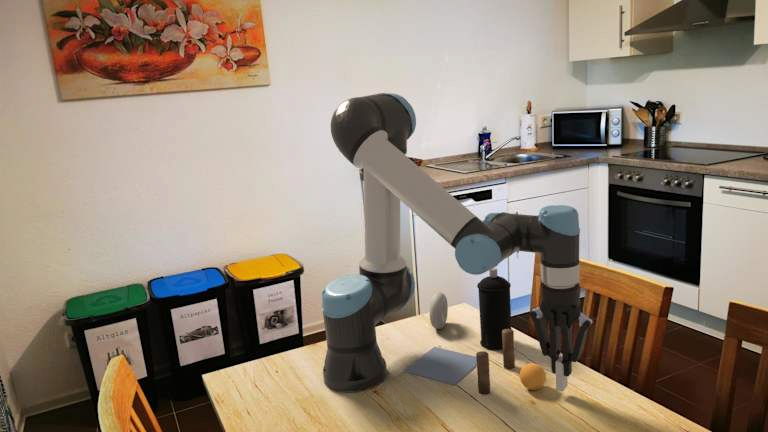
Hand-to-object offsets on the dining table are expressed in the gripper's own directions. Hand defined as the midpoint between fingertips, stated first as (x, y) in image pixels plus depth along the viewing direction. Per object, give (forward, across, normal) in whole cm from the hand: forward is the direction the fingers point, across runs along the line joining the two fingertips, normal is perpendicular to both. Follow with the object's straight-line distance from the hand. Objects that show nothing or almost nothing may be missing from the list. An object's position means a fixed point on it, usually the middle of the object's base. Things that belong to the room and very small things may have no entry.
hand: (561, 387), depth 128 cm
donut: (+2, +41, -18) cm, 45 cm away
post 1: (+2, +15, +6) cm, 16 cm away
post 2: (+2, +15, -6) cm, 16 cm away
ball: (-1, +6, 0) cm, 6 cm away
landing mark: (+2, +29, 0) cm, 29 cm away
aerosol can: (+2, +23, -16) cm, 28 cm away
